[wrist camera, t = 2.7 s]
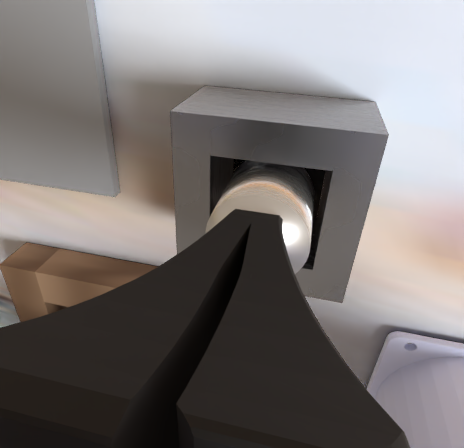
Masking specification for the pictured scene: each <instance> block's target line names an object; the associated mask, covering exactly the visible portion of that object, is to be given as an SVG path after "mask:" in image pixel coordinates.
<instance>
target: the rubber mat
mask: <svg viewBox="0 0 464 448" xmlns="http://www.w3.org/2000/svg"><path fill="white" fill-rule="evenodd" d="M0 180H7V181H13V182H20V183H26V184H33V185H39V186H46V187H52V188H59V189H65V190H72V191H78V192H85V193H91V194H98V195H104V196H111V197H115V196H117V195H118V194H119V193H120V187H119V180H118V173H117V165H116V158H115V151H114V143H113V136H112V129H111V121H110V114H109V106H108V99H107V92H106V84H105V77H104V70H103V62H102V55H101V48H100V40H99V33H98V26H97V18H96V11H95V4H94V0H0Z"/></svg>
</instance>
